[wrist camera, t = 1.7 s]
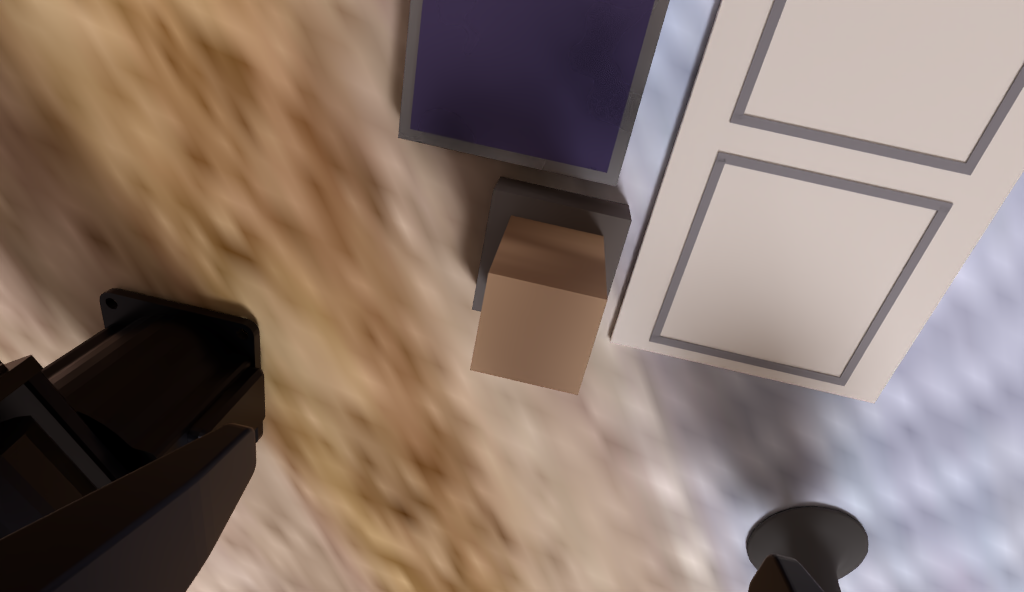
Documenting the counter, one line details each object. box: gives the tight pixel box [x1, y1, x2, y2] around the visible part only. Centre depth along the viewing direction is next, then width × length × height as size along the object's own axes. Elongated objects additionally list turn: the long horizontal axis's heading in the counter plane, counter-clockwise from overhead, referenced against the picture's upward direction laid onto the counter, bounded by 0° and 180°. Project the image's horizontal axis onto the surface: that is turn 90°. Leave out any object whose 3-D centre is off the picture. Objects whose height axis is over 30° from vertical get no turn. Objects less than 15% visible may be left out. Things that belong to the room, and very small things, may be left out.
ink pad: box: [398, 0, 670, 186], centre depth 16 cm, size 7×8×1 cm
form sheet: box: [610, 0, 1024, 403], centre depth 17 cm, size 10×16×1 cm, turn 169°
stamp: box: [470, 177, 632, 395], centre depth 17 cm, size 4×4×6 cm
